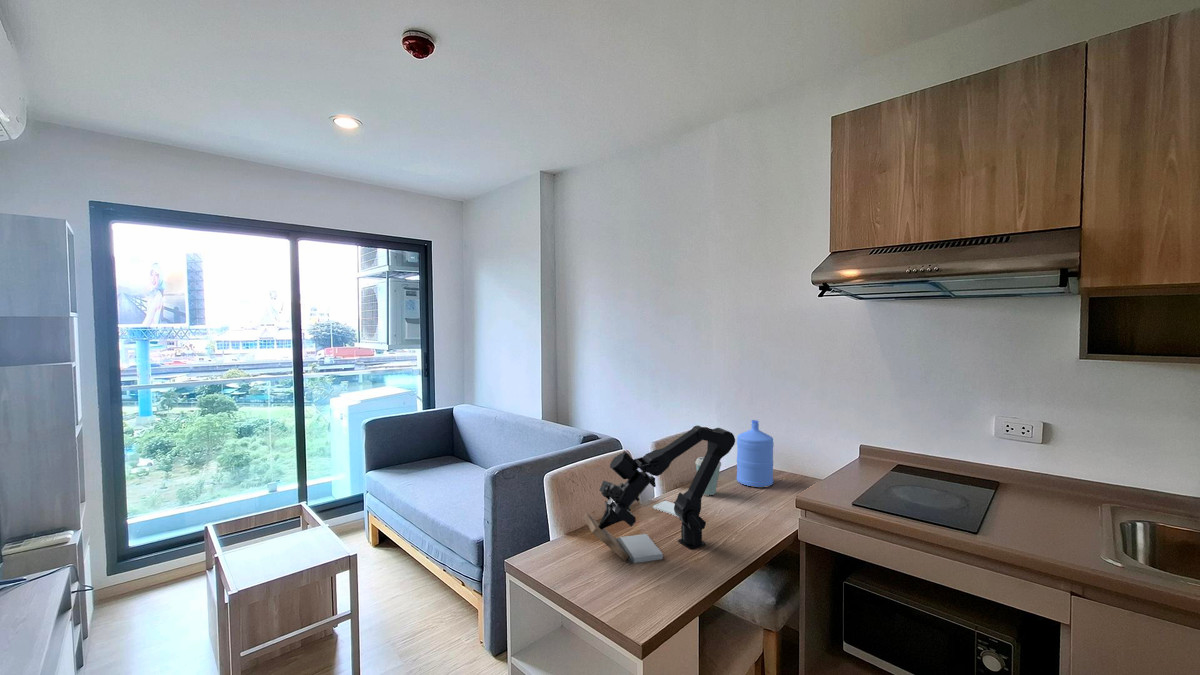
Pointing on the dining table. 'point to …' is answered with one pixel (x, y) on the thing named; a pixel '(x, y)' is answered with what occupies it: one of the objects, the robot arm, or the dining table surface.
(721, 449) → the robot arm
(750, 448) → the water jug
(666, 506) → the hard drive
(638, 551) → the base board
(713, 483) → the disposable coffee cup
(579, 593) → the dining table surface
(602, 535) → the plank
